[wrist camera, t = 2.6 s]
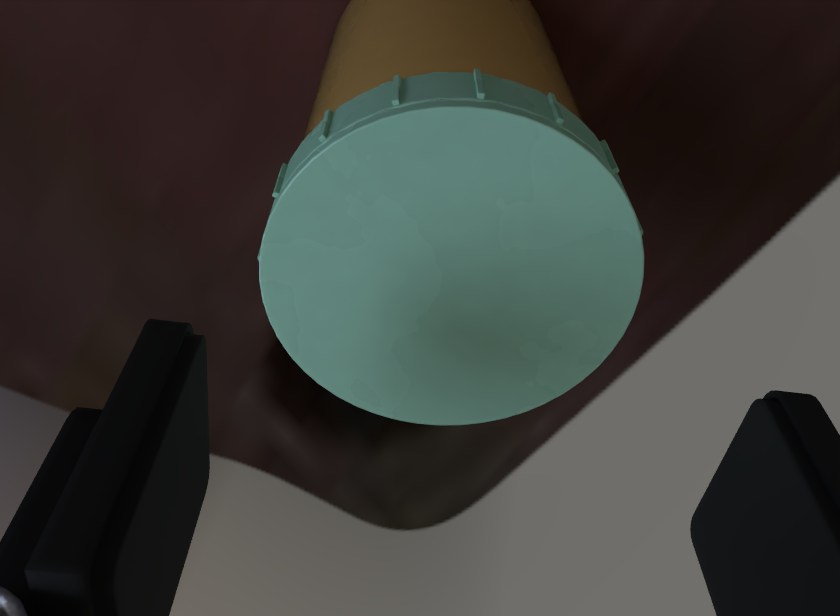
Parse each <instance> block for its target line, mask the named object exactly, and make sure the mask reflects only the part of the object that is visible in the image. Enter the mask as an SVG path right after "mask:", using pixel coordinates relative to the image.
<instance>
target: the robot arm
mask: <svg viewBox="0 0 840 616" xmlns="http://www.w3.org/2000/svg"><path fill="white" fill-rule="evenodd" d="M209 465H210V462H209V426H208V389H207V353H206V338H205V336H204V335H195V334H193V328H192V325H191V324H190V323H182V322H173V321H164V320H155V319H149V320H148V321H147V322H146V324H145V325H144V327H143V329H142V331H141V333H140V335H139V337H138V339H137V341H136V344H135V346H134V348H133V350H132V352H131V354H130V356H129V358H128V360H127V362H126V364H125V366H124V368H123V370H122V372H121V374H120V376H119V378H118V380H117V382H116V384H115V386H114V388H113V390H112V392H111V394H110V396H109V398H108V400H107V402H106V404H105V407H104V409H103V410H100V409H90V408H80V407H77V408H76V409H75V410H73V411H72V412H71V413H70V415H69V416H68V418H67V419H66V421H65V423H64V425H63V427H62V429H61V430H60V432H59V434H58V436H57V438H56V439H55V442H54V443H53V445H52V447H51V449H50V451H49V452H48V454H47V456H46V458H45V460H44V462H43V464H42V465H41V468H40V469H39V471H38V473H37V475H36V477H35V478H34V480H33V482H32V484H31V486H30V488H29V490H28V491H27V493H26V495H25V497H24V499H23V501H22V503H21V504H20V506H19V508H18V510H17V512H16V514H15V515H14V517H13V519H12V521H11V523H10V525H9V527H8V528H7V530H6V532H5V534H4V536H3V538H2V540H1V541H0V616H169V614H170V610H171V607H172V604H173V600H174V597H175V594H176V590H177V587H178V584H179V580H180V577H181V574H182V570H183V567H184V564H185V560H186V557H187V554H188V550H189V547H190V543H191V540H192V537H193V534H194V530H195V527H196V524H197V520H198V517H199V514H200V510H201V507H202V503H203V500H204V497H205V493H206V489H207V485H208V479H209V469H210V466H209ZM690 530H691V539H692V542H693V546H694V548H695V551H696V555H697V557H698V561H699V564H700V567H701V570H702V573H703V575H704V579H705V582H706V585H707V588H708V591H709V594H710V597H711V600H712V603H713V606H714V609H715V612H716V615H717V616H840V435H839V434H838V432H837V430H836V429H835V427H834V425H833V424H832V422H831V420H830V418H829V417H828V415H827V414H826V412H825V410H824V408H823V407H822V405H821V404H820V402H819V401H818V400H817V398H816V397H814V396H812V395H810V394H802V393H793V392H784V391H770V392H769V393H767V394H766V395H765V396H764V398H763V399H756V400H755V401H754V402H753V403H752V405H751V406H750V408H749V410H748V412H747V414H746V416H745V418H744V420H743V422H742V423H741V425H740V427H739V429H738V431H737V433H736V435H735V437H734V438H733V441H732V442H731V444H730V446H729V448H728V450H727V452H726V454H725V456H724V457H723V459H722V461H721V463H720V465H719V467H718V469H717V471H716V473H715V474H714V476H713V478H712V480H711V482H710V484H709V486H708V488H707V490H706V492H705V493H704V495H703V497H702V499H701V501H700V503H699V505H698V507H697V509H696V511H695V513H694V515H693V517H692V520H691V529H690Z"/></svg>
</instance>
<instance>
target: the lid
mask: <svg viewBox="0 0 840 616" xmlns="http://www.w3.org/2000/svg"><path fill="white" fill-rule="evenodd" d="M618 172H619V169H618V166H617V164H616V162H615V160H614V158H613V155H612V153H611V151H610V149H609V147H608V144H607V143H606V141H605V140H604V139H603V140H602V141H599V140H598V139H597V137H596V136H595V134H594V133H593V132H592V131H591V130H590V129H589V128H588V127H587V126H586V125H585V124H584V123H583V122H582V121H581V120H580V119H579V118H578V117H577V116H576V115H574V114H573V113H572V112H570V111H569V110H568V109H567V108H565V107H564V106H563V105H561V104H560V103H559V102H557V100H556V97H555V95H554V94H553V93H551V92H549V93H548V95H547V96H546V95H545V94H543V93H541V92H540V91H537V90H536V89H533V88H530V87H527V86H525V85H522V84H520V83H517V82H515V81H511V80H507V79H503V78H499V77H496V76H493V75H488V74H481V70H480V69H474V73H466V72H432V73H428V74H423V75H416V76H410V77H406V78H403V79H401V77H400V75H395V76H394V78H393V81H390V82H386V83H383V84H381V85H379V86H378V87H376V88H373V89H371V90H368V91H366V92H364V93H361V94H360V95H358V96H356V97H355V98H353V99H351V100H350V101H348V102H346V103H344V104H342V105H341V106H339V107H338V108H337V109H336V110H335V111H333V112H332V111H331V110H330V109H328V110H327V111H326V112H325V114H324V118H323V120H322V121H321V122H320V123H319V124H318V125H317V126H316V127H315V128H314V129H313V130H312V131H311V132H310V134H309V135H307V137H306V138H305V139H304V140H303V142H302V143H301V145H300V146H299V147H298V149H297V150H296V152H295V153H294V155H293V156H292V158H291V160H290V162H289V164H285V163H283V165H282V167H281V170H280V173H279V176H278V179H277V182H276V185H275V188H274V191H273V194H272V196H273V197H275V200H274V203H273V206H272V209H271V213H270V216H269V219H268V222H267V225H266V229H265V232H264V235H263V238H262V244H261V247H260V251H259V254H258V261H259V281H260V287H261V293H262V299H263V303H264V306H265V309H266V312H267V315H268V318H269V321H270V323H271V325H272V327H273V329H274V331H275V333H276V335H277V337H278V339H279V340H280V342H281V343H282V345H283V346H284V348H285V349H286V350H287V352H288V353H289V355H290V356H291V357H292V358H293V359H294V361H295V362H296V363H297V364H298V365H299V366H300V367H301V368H302V369H303V371H305V372H306V373H307V374H308V375H309V376H310V377H312V378H313V379H314V380H315V381H316V382H317V383H318V384H320V385H321V386H323V387H324V388H326V389H327V390H329V391H330V392H332V393H333V394H335V395H336V396H338V397H340V398H341V399H343V400H345V401H347V402H349V403H351V404H353V405H355V406H357V407H360V408H362V409H365V410H367V411H370V412H372V413H375V414H378V415H382V416H385V417H389V418H392V419H396V420H401V421H407V422H412V423H419V424H430V425H465V424H475V423H483V422H488V421H493V420H498V419H503V418H507V417H510V416H513V415H517V414H520V413H523V412H526V411H528V410H531V409H533V408H536V407H538V406H540V405H543V404H545V403H547V402H549V401H551V400H552V399H554V398H556V397H558V396H560V395H562V394H564V393H565V392H566V391H568V390H569V389H571V388H572V387H574V386H575V385H577V384H578V383H580V382H581V381H582V380H583V379H585V378H586V377H587V376H588V375H589V374H590V373H591V372H593V371H594V370H595V369H596V368H597V367H598V366H599V365H600V364H601V363H602V362H603V361H604V360H605V358H606V357H607V356H608V355H609V354H610V353H611V352H612V350H613V349H614V347H615V346H616V345H617V343H618V342H619V340H620V339H621V338H622V336H623V334H624V333H625V331H626V329H627V327H628V325H629V323H630V321H631V319H632V317H633V314H634V312H635V309H636V306H637V303H638V300H639V297H640V293H641V287H642V282H643V277H644V249H643V241H642V235H643V229H642V227H641V225H640V223H639V220H638V218H637V216H636V214H635V211H634V209H633V207H632V205H631V202H630V200H629V198H628V196H627V193H626V191H625V189H624V187H623V184H622V182H621V180H620V178H619V175H618Z"/></svg>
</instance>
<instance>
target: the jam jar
mask: <svg viewBox="0 0 840 616" xmlns="http://www.w3.org/2000/svg"><path fill="white" fill-rule="evenodd" d="M474 69H480V70H481V74H488V75H493V76H496V77H499V78H503V79H507V80H511V81H515V82H517V83H520V84H522V85H525V86H527V87H530V88H533V89H536V90H537V91H540V92H541V93H543V94H545V95H546V96H547V95H548V93H549V92H551V93H553V94H554V95H555V97H556V100H557V102H559V103H560V104H561V105H563V106H564V107H565V108H567V109H568V110H569V111H570V112H572V113H573V114H574V115H576V116H577V117H578V118H579V119H580V120H581V121H582V122H583V123H584V120H583V118H582V116H581V113H580V111H579V109H578V106H577V104H576V101H575V99H574V97H573V94H572V92H571V90H570V87H569V85H568V82H567V80H566V78H565V75H564V73H563V70H562V68H561V66H560V63H559V61H558V59H557V56H556V54H555V51H554V49H553V47H552V44H551V42H550V40H549V37H548V35H547V32H546V30H545V28H544V25H543V23H542V21H541V19H540V17H539V15H538V13H537V11H536V9H535V8H534V7H533V5H532V4H531V2H530V1H529V0H352V1H351V2H350V3H349V5H348V6H347V8H346V9H345V11H344V12H343V14H342V16H341V18H340V20H339V22H338V24H337V26H336V29H335V32H334V35H333V38H332V41H331V45H330V48H329V51H328V55H327V58H326V62H325V65H324V69H323V72H322V76H321V79H320V82H319V86H318V89H317V93H316V96H315V100H314V103H313V107H312V110H311V113H310V117H309V120H308V124H307V127H306V131H305V134H304V138H303V140H304V139H305V138H306V137H307V135H309V134H310V132H311V131H312V130H313V129H314V128H315V127H316V126H317V125H318V124H319V123H320V122H321V121H322V120H323V118H324V114H325V112H326V111H327V110H328V109H330V110H331V111H332V112H333V111H335V110H336V109H337V108H338V107H339V106H341V105H342V104H344V103H346V102H348V101H350V100H351V99H353V98H355V97H356V96H358V95H360V94H361V93H364V92H366V91H368V90H371V89H373V88H376V87H378V86H379V85H381V84H383V83H386V82H390V81H393V78H394V76H395V75H400V77H401V79H403V78H406V77H410V76H416V75H423V74H428V73H432V72H466V73H474ZM584 124H585V123H584ZM302 142H303V141H302Z"/></svg>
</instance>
